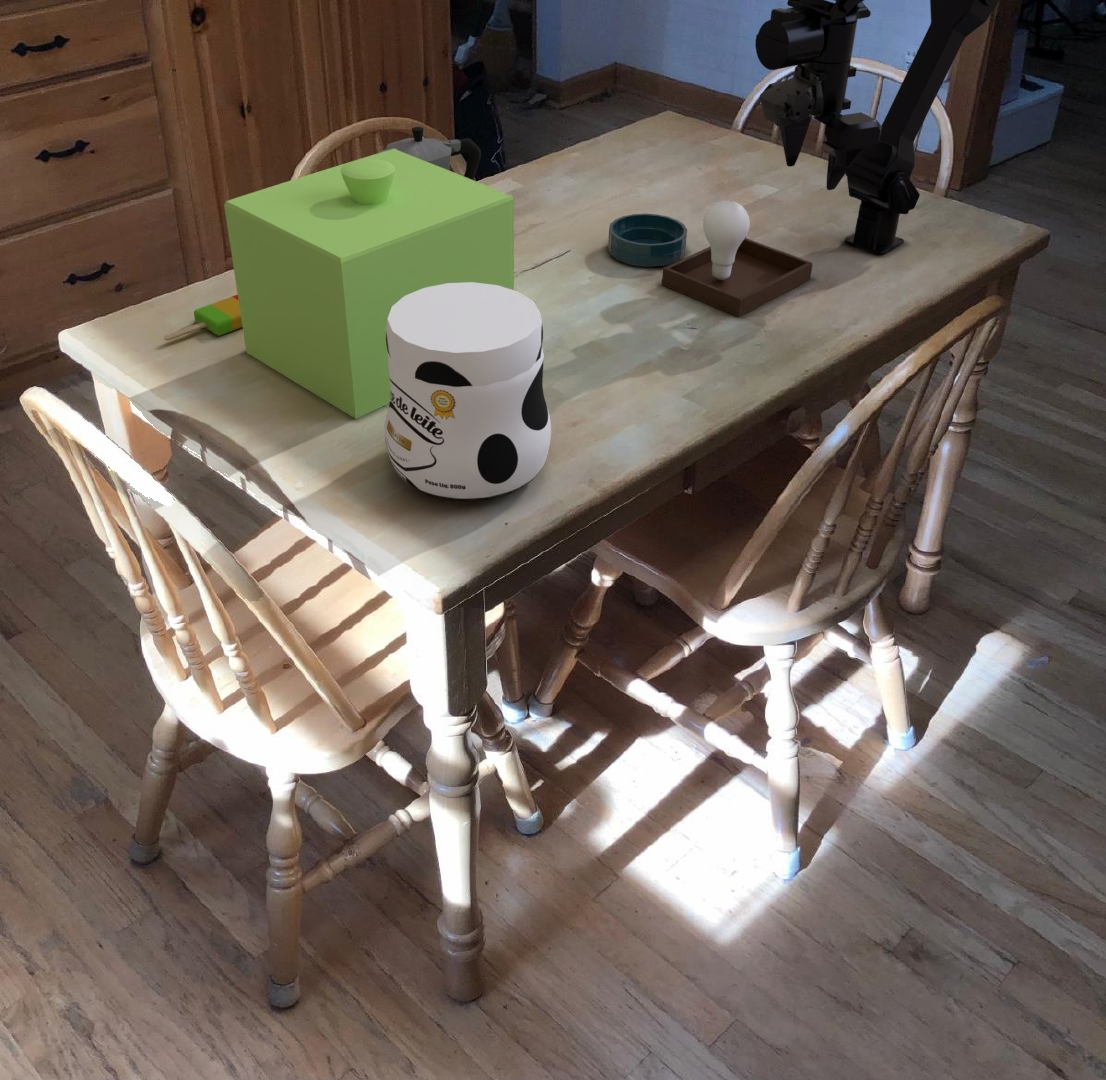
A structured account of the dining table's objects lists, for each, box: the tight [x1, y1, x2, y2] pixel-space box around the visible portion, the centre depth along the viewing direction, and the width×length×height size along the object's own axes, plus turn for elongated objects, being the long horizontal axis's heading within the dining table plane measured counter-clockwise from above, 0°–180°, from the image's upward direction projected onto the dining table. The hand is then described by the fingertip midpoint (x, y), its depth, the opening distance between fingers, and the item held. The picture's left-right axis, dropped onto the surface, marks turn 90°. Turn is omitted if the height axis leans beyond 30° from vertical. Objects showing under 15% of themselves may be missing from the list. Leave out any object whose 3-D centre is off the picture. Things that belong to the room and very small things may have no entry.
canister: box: [223, 149, 515, 420], centre depth 144 cm, size 25×21×23 cm
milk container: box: [384, 282, 552, 502], centre depth 125 cm, size 17×17×18 cm
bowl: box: [607, 213, 688, 268], centre depth 174 cm, size 11×11×4 cm
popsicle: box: [163, 293, 243, 342], centre depth 155 cm, size 6×15×2 cm, turn 135°
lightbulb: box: [702, 200, 751, 280], centre depth 164 cm, size 6×6×11 cm
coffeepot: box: [376, 126, 482, 181], centre depth 168 cm, size 15×9×18 cm, turn 113°
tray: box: [661, 237, 814, 318], centre depth 167 cm, size 16×13×2 cm
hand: (810, 177), depth 164 cm, fingers open, 9 cm apart
